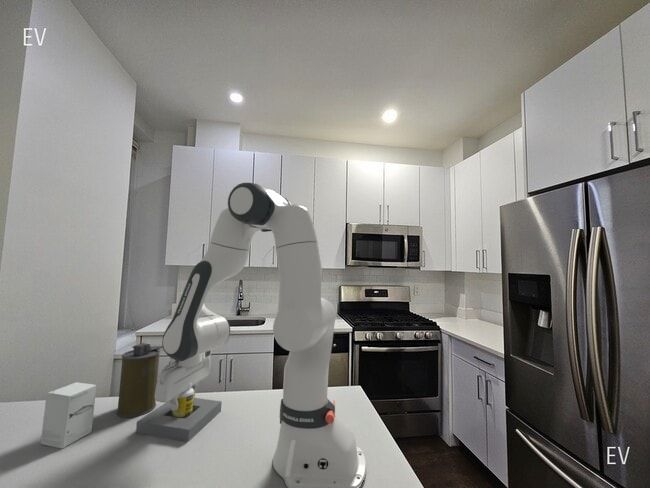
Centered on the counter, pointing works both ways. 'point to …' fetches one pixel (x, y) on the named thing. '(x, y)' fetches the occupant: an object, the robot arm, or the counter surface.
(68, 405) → the supplement box
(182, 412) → the supplement bottle
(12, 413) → the counter surface
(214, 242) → the robot arm
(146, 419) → the socket block
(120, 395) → the canister
